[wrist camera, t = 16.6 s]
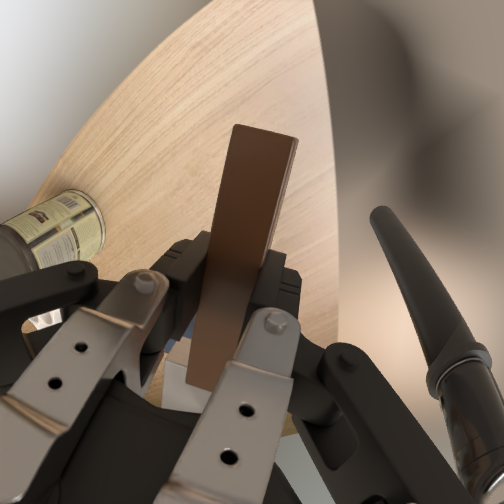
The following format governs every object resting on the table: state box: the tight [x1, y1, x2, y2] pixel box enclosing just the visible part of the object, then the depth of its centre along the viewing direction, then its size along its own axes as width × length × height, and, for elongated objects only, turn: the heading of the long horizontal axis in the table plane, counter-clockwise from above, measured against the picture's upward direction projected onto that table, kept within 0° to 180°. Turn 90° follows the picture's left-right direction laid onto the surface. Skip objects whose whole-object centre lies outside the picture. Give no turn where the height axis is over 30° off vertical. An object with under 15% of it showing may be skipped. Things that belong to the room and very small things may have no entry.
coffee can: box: [0, 190, 105, 280], centre depth 33 cm, size 10×10×14 cm
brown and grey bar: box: [161, 124, 299, 413], centre depth 13 cm, size 18×4×3 cm, turn 169°
